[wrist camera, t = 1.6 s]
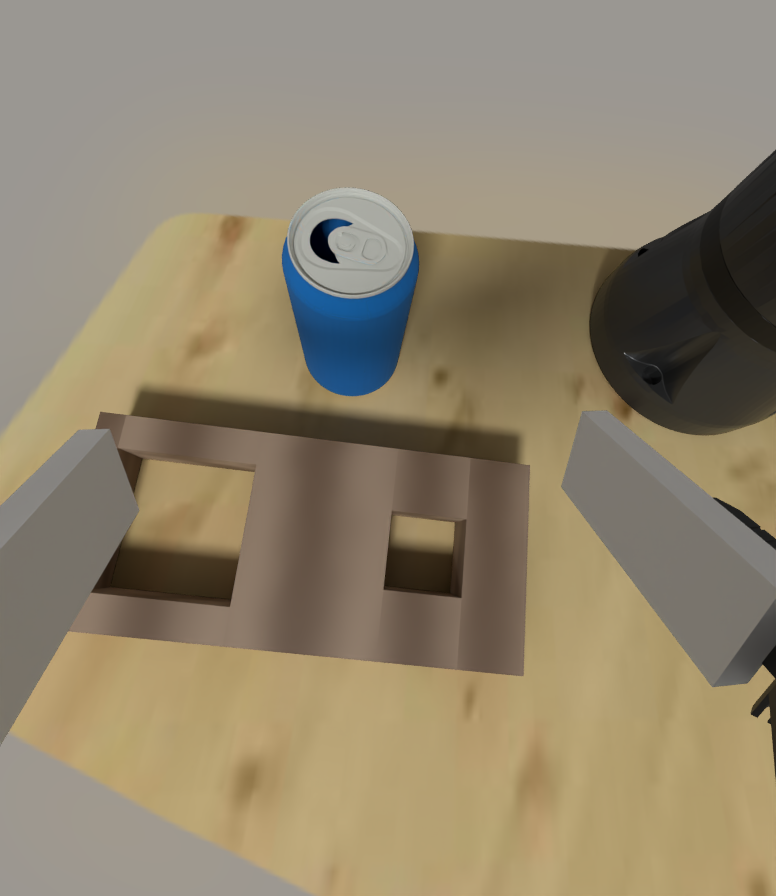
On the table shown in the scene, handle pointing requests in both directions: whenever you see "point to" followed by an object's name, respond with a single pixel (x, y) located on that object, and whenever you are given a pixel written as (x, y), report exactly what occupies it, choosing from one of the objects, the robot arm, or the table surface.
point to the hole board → (337, 552)
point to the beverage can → (350, 286)
